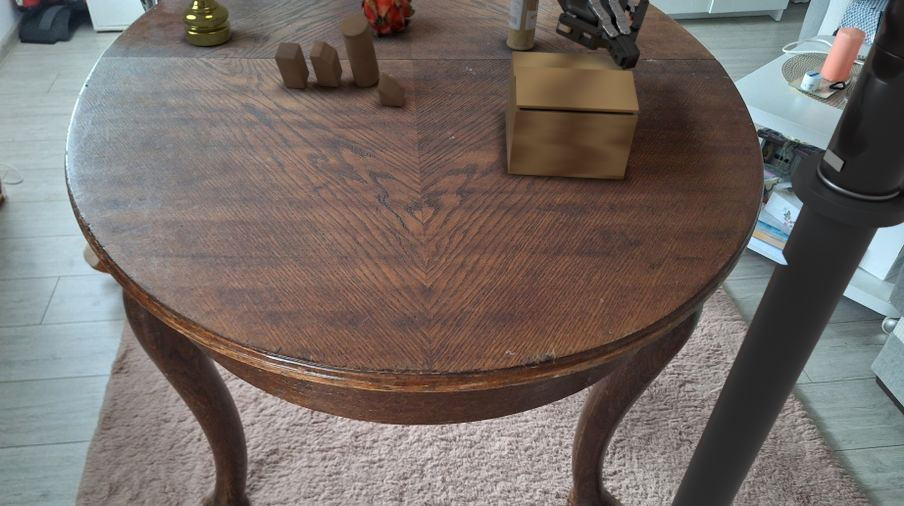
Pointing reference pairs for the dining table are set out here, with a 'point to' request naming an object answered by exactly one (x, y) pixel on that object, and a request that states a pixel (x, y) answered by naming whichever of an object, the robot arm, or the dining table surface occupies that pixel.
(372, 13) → the dragon fruit
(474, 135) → the dining table surface
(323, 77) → the wooden block set
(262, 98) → the dining table surface
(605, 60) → the carton
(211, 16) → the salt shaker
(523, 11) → the sprinkles bottle
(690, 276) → the dining table surface
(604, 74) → the flap
